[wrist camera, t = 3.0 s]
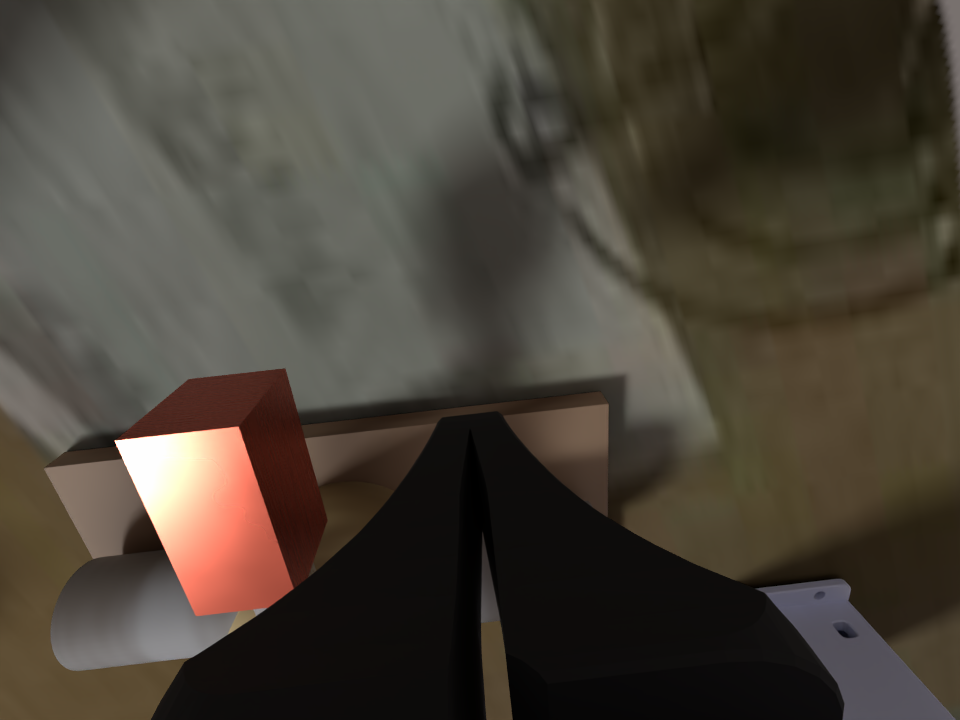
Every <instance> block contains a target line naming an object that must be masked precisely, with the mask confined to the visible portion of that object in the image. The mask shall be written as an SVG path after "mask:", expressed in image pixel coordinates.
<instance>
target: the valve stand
mask: <svg viewBox="0 0 960 720" xmlns="http://www.w3.org/2000/svg"><path fill="white" fill-rule="evenodd" d="M493 411H498V412H499V413H501V414H502V415H503V417H504V419H505V420H506V422H507V423H508V425H509V426H510V428H511V429H512V430H513V432H514V433H515V434H516V435H517V437H518V438H519V439H520V440H521V442H522V443H523V444H524V445H525V446H526V447H527V448H528V450H529V451H530V452H531V453H532V454H533V455H534V456H535V457H536V458H537V459H538V460H539V461H540V462H541V463H542V464H543V465H544V466H545V467H546V468H547V469H548V470H549V471H550V472H551V473H552V474H553V475H554V476H555V477H556V478H557V479H558V480H559V481H560V482H562V483H563V484H564V485H565V486H566V487H567V488H569V489H570V490H571V491H572V492H573V493H575V494H576V495H577V496H578V497H580V498H581V499H582V500H584V501H585V502H586V503H588V504H589V505H590V506H592V507H593V508H594V509H596V510H597V511H599V512H600V513H602V514H603V515H605V516H606V517H608V416H609V404H608V402H607V401H606V399H605V397H604V396H603V394H602V393H601V391H599V392H590V393H581V394H573V395H564V396H555V397H546V398H537V399H528V400H520V401H511V402H502V403H493V404H484V405H476V406H467V407H458V408H449V409H440V410H432V411H423V412H414V413H405V414H396V415H387V416H379V417H370V418H361V419H352V420H343V421H335V422H326V423H317V424H308V425H301V426H302V430H303V433H304V437H305V441H306V444H307V448H308V451H309V455H310V458H311V462H312V466H313V469H314V473H315V476H316V480H317V483H318V487H319V490H320V494H321V498H322V501H323V505H324V508H325V512H326V515H327V519H328V521H327V524H326V527H325V530H324V533H323V535H322V538H321V541H320V544H319V547H318V550H317V553H316V556H315V559H314V565H315V568H316V571H317V570H318V569H319V568H320V567H321V566H323V565H324V564H325V563H326V562H327V561H328V560H329V559H330V558H331V557H332V556H334V555H335V554H336V553H337V552H338V551H339V550H340V549H341V548H342V547H344V546H345V545H346V544H347V543H348V542H349V541H350V540H351V539H352V538H353V537H355V536H356V535H357V534H358V533H359V532H360V531H361V530H362V528H363V527H364V526H365V525H366V524H367V523H368V522H369V521H370V520H371V519H372V518H373V517H374V515H375V514H376V513H377V512H378V511H379V510H380V508H381V507H382V506H383V505H384V504H385V502H386V501H387V500H388V499H389V498H390V496H391V495H392V494H393V492H394V491H395V490H396V488H397V487H398V486H399V484H400V483H401V482H402V480H403V479H404V478H405V476H406V475H407V473H408V472H409V470H410V469H411V467H412V466H413V464H414V463H415V461H416V460H417V458H418V457H419V455H420V453H421V452H422V450H423V449H424V447H425V445H426V443H427V442H428V440H429V438H430V436H431V434H432V433H433V431H434V429H435V427H436V424H437V422H438V421H439V420H440V419H441V418H442V417H449V416H458V415H467V414H476V413H485V412H493ZM44 469H45V471H46V473H47V475H48V477H49V479H50V480H51V482H52V484H53V486H54V488H55V490H56V491H57V493H58V495H59V497H60V499H61V501H62V502H63V504H64V506H65V508H66V510H67V512H68V513H69V515H70V517H71V519H72V521H73V523H74V524H75V526H76V528H77V530H78V532H79V534H80V535H81V537H82V539H83V541H84V543H85V545H86V546H87V548H88V550H89V552H90V554H91V556H92V557H93V560H91V561H89V562H87V563H86V564H84V565H83V566H82V567H80V568H79V569H78V570H77V571H76V572H75V573H74V574H73V575H72V577H71V578H70V579H69V580H68V582H67V583H66V585H65V586H64V588H63V590H62V592H61V594H60V596H59V598H58V600H57V603H56V606H55V609H54V612H53V616H52V622H51V643H52V648H53V651H54V654H55V656H56V658H57V660H58V661H59V662H60V663H61V664H62V665H63V666H64V667H65V668H68V669H70V670H74V671H82V670H90V669H99V668H107V667H115V666H124V665H132V664H140V663H149V662H157V661H165V660H174V659H182V658H191V657H194V656H195V655H197V654H199V653H200V652H202V651H203V650H205V649H206V648H208V647H210V646H211V645H213V644H214V643H216V642H217V641H219V640H220V639H222V638H223V637H225V636H226V635H228V634H230V633H231V632H233V631H234V630H236V629H237V628H239V627H240V626H242V625H243V624H245V623H246V622H248V621H249V620H251V619H253V618H254V617H256V615H255V612H254V610H245V611H236V612H228V613H220V614H211V615H203V616H196V615H195V613H194V611H193V609H192V607H191V605H190V602H189V600H188V598H187V596H186V594H185V592H184V589H183V587H182V585H181V583H180V581H179V579H178V576H177V574H176V572H175V570H174V568H173V566H172V564H171V561H170V559H169V557H168V555H167V553H166V551H165V548H164V546H163V544H162V542H161V540H160V538H159V535H158V533H157V531H156V529H155V527H154V525H153V522H152V520H151V518H150V516H149V514H148V512H147V509H146V507H145V505H144V503H143V501H142V499H141V497H140V494H139V492H138V490H137V488H136V486H135V484H134V481H133V479H132V477H131V475H130V473H129V471H128V468H127V466H126V464H125V462H124V460H123V458H122V455H121V453H120V451H119V449H118V447H117V446H114V447H105V448H97V449H88V450H79V451H70V452H64V453H63V454H62V455H61V456H59V457H58V458H57V459H55V460H54V461H53V462H51V463H50V464H49V465H47V466H46V467H45V468H44ZM492 621H500V617H499V612H498V607H497V602H496V597H495V592H494V587H493V582H492V577H491V572H490V567H489V562H488V557H487V552H486V547H485V542H484V536H483V531H482V596H481V623H484V622H492Z"/></svg>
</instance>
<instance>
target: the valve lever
mask: <svg viewBox="0 0 960 720" xmlns="http://www.w3.org/2000/svg"><path fill="white" fill-rule="evenodd" d="M115 443H116V445H117V447H118V449H119V451H120V453H121V455H122V458H123V460H124V462H125V464H126V466H127V468H128V471H129V473H130V475H131V477H132V479H133V481H134V484H135V486H136V488H137V490H138V492H139V494H140V497H141V499H142V501H143V503H144V505H145V507H146V509H147V512H148V514H149V516H150V518H151V520H152V522H153V525H154V527H155V529H156V531H157V533H158V535H159V538H160V540H161V542H162V544H163V546H164V548H165V551H166V553H167V555H168V557H169V559H170V561H171V564H172V566H173V568H174V570H175V572H176V574H177V576H178V579H179V581H180V583H181V585H182V587H183V589H184V592H185V594H186V596H187V598H188V600H189V602H190V605H191V607H192V609H193V611H194V613H195V615H196V616H203V615H211V614H220V613H228V612H236V611H245V610H254V612H255V615H256V616H257V615H258V614H260V613H261V612H263V611H264V610H265V609H267V608H268V607H270V606H271V605H272V604H274V603H275V602H277V601H278V600H279V599H281V598H282V597H283V596H285V595H286V594H287V593H289V592H290V591H291V590H293V589H294V588H295V587H297V586H298V585H299V584H300V583H302V582H303V581H304V580H305V579H307V578H308V577H309V576H310V575H312V574H313V573H314V572H315V571H316V568H315V565H314V559H315V556H316V553H317V550H318V547H319V544H320V541H321V538H322V535H323V533H324V530H325V527H326V524H327V521H328V519H327V515H326V512H325V508H324V505H323V501H322V498H321V494H320V490H319V487H318V483H317V480H316V476H315V473H314V469H313V466H312V462H311V458H310V455H309V451H308V448H307V444H306V441H305V437H304V433H303V430H302V426H301V423H300V419H299V416H298V412H297V409H296V405H295V401H294V398H293V394H292V391H291V387H290V384H289V380H288V377H287V373H286V369H276V370H267V371H258V372H249V373H240V374H231V375H222V376H213V377H204V378H195V379H188V380H187V381H186V382H185V383H184V384H182V385H181V386H180V387H179V388H178V389H176V390H175V391H174V392H173V393H172V394H170V395H169V396H168V397H167V398H166V399H164V400H163V401H162V402H161V403H160V404H158V405H157V406H156V407H155V408H154V409H152V410H151V411H150V412H149V413H148V414H146V415H145V416H144V417H143V418H142V419H140V420H139V421H138V422H137V423H136V424H134V425H133V426H132V427H131V428H130V429H128V430H127V431H126V432H125V433H124V434H122V435H121V436H120V437H119V438H118V439H116V440H115Z"/></svg>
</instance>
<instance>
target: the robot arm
mask: <svg viewBox="0 0 960 720" xmlns="http://www.w3.org/2000/svg"><path fill="white" fill-rule="evenodd" d="M482 531H483V536H484V542H485V547H486V552H487V557H488V562H489V567H490V572H491V577H492V582H493V587H494V592H495V597H496V602H497V607H498V612H499V617H500V622H501V627H502V634H503V640H504V646H505V653H506V662H507V671H508V680H509V689H510V698H511V707H512V717H513V720H956V719H955V718H954V717H953V716H952V715H951V714H950V713H949V712H948V711H947V709H946V708H945V707H944V706H943V705H942V704H941V703H940V702H939V701H938V699H937V698H936V697H935V696H934V695H933V694H932V693H931V692H930V691H929V690H928V688H927V687H926V686H925V685H924V684H923V683H922V682H921V681H920V680H919V678H918V677H917V676H916V675H915V674H914V673H913V672H912V671H911V670H910V668H909V667H908V666H907V665H906V664H905V663H904V662H903V661H902V660H901V658H900V657H899V656H898V655H897V654H896V653H895V652H894V651H893V650H892V649H891V647H890V646H889V645H888V644H887V643H886V642H885V641H884V640H883V639H882V637H881V636H880V635H879V634H878V633H877V632H876V631H875V630H874V629H873V627H872V626H871V625H870V624H869V623H868V622H867V621H866V620H865V619H864V617H863V616H862V615H861V614H860V613H859V612H858V611H857V610H856V609H855V608H854V606H853V605H852V604H851V603H850V602H849V601H848V600H849V596H850V592H851V587H850V586H849V585H848V584H847V583H846V582H845V580H843V579H831V580H822V581H814V582H805V583H797V584H789V585H780V586H772V587H764V588H755V589H754V588H752V587H749V586H747V585H745V584H742V583H740V582H737V581H735V580H732V579H730V578H727V577H725V576H722V575H720V574H718V573H715V572H713V571H710V570H708V569H705V568H703V567H700V566H698V565H696V564H693V563H691V562H689V561H687V560H685V559H683V558H681V557H679V556H677V555H675V554H673V553H671V552H669V551H667V550H665V549H663V548H661V547H658V546H656V545H654V544H653V543H651V542H649V541H647V540H645V539H643V538H642V537H640V536H638V535H636V534H634V533H633V532H631V531H629V530H628V529H626V528H624V527H623V526H621V525H619V524H618V523H616V522H615V521H613V520H611V519H610V518H608V517H606V516H605V515H603V514H602V513H600V512H599V511H597V510H596V509H594V508H593V507H592V506H590V505H589V504H588V503H586V502H585V501H584V500H582V499H581V498H580V497H578V496H577V495H576V494H575V493H573V492H572V491H571V490H570V489H569V488H567V487H566V486H565V485H564V484H563V483H562V482H560V481H559V480H558V479H557V478H556V477H555V476H554V475H553V474H552V473H551V472H550V471H549V470H548V469H547V468H546V467H545V466H544V465H543V464H542V463H541V462H540V461H539V460H538V459H537V458H536V457H535V456H534V455H533V454H532V453H531V452H530V451H529V450H528V448H527V447H526V446H525V445H524V444H523V443H522V442H521V440H520V439H519V438H518V437H517V435H516V434H515V433H514V432H513V430H512V429H511V428H510V426H509V425H508V423H507V422H506V420H505V419H504V417H503V415H502V414H501V413H499V412H498V411H493V412H485V413H476V414H467V415H458V416H449V417H442V418H441V419H440V420H439V421H438V422H437V424H436V427H435V429H434V431H433V433H432V434H431V436H430V438H429V440H428V442H427V443H426V445H425V447H424V449H423V450H422V452H421V453H420V455H419V457H418V458H417V460H416V461H415V463H414V464H413V466H412V467H411V469H410V470H409V472H408V473H407V475H406V476H405V478H404V479H403V480H402V482H401V483H400V484H399V486H398V487H397V488H396V490H395V491H394V492H393V494H392V495H391V496H390V498H389V499H388V500H387V501H386V502H385V504H384V505H383V506H382V507H381V508H380V510H379V511H378V512H377V513H376V514H375V515H374V517H373V518H372V519H371V520H370V521H369V522H368V523H367V524H366V525H365V526H364V527H363V528H362V530H361V531H360V532H359V533H358V534H357V535H356V536H355V537H353V538H352V539H351V540H350V541H349V542H348V543H347V544H346V545H345V546H344V547H342V548H341V549H340V550H339V551H338V552H337V553H336V554H335V555H334V556H332V557H331V558H330V559H329V560H328V561H327V562H326V563H325V564H324V565H323V566H321V567H320V568H319V569H318V570H317V571H315V572H314V573H313V574H312V575H310V576H309V577H308V578H307V579H305V580H304V581H303V582H302V583H300V584H299V585H298V586H297V587H295V588H294V589H293V590H291V591H290V592H289V593H287V594H286V595H285V596H283V597H282V598H281V599H279V600H278V601H277V602H275V603H274V604H272V605H271V606H270V607H268V608H267V609H265V610H264V611H263V612H261V613H260V614H258V615H257V616H256V617H254V618H253V619H251V620H249V621H248V622H246V623H245V624H243V625H242V626H240V627H239V628H237V629H236V630H234V631H233V632H231V633H230V634H228V635H226V636H225V637H223V638H222V639H220V640H219V641H217V642H216V643H214V644H213V645H211V646H210V647H208V648H206V649H205V650H203V651H202V652H200V653H199V654H197V655H195V656H194V657H192V658H190V659H189V660H187V661H186V662H184V664H183V665H182V667H181V669H180V670H179V672H178V674H177V675H176V677H175V679H174V680H173V682H172V683H171V685H170V687H169V688H168V690H167V692H166V693H165V695H164V697H163V698H162V700H161V701H160V703H159V705H158V707H157V709H156V711H155V713H154V715H153V717H152V719H151V720H486V710H485V696H484V682H483V668H482V654H481V596H482Z"/></svg>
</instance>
